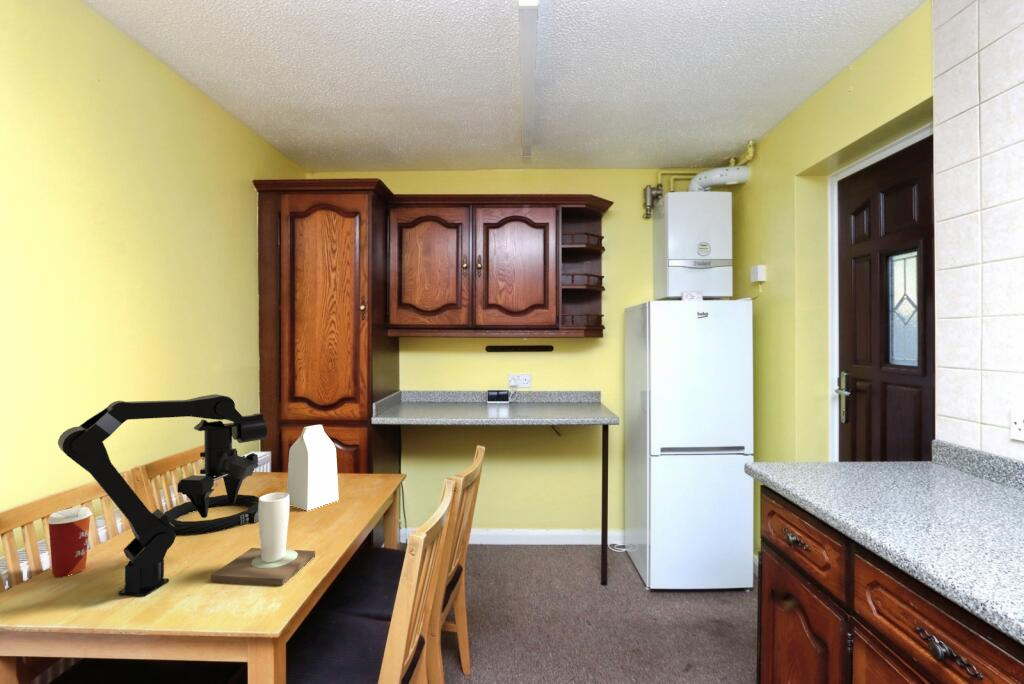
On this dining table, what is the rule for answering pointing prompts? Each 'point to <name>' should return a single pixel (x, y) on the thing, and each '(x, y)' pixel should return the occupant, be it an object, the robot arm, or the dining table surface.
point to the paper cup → (69, 540)
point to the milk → (312, 470)
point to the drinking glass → (273, 525)
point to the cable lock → (214, 524)
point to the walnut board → (262, 568)
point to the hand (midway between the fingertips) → (218, 510)
